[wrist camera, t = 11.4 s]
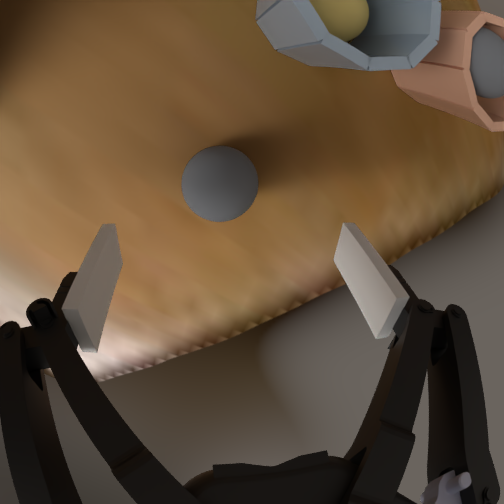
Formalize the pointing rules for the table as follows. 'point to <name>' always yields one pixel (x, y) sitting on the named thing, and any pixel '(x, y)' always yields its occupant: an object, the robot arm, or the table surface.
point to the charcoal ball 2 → (487, 64)
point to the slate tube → (364, 45)
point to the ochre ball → (343, 16)
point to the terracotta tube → (454, 71)
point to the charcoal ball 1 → (219, 183)
